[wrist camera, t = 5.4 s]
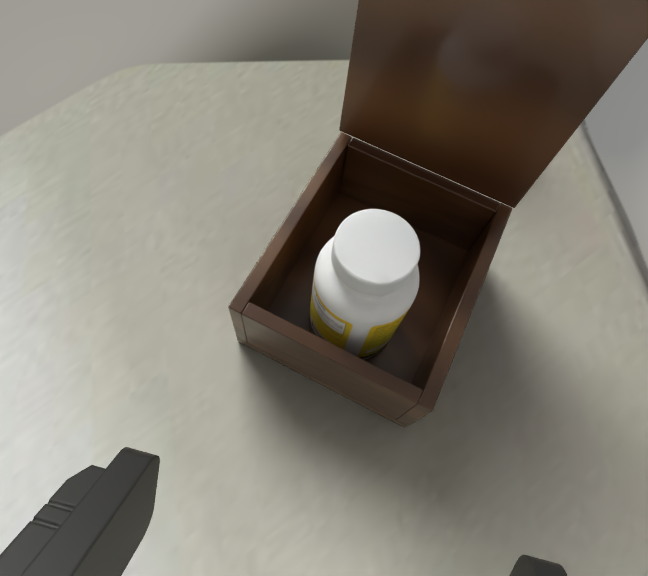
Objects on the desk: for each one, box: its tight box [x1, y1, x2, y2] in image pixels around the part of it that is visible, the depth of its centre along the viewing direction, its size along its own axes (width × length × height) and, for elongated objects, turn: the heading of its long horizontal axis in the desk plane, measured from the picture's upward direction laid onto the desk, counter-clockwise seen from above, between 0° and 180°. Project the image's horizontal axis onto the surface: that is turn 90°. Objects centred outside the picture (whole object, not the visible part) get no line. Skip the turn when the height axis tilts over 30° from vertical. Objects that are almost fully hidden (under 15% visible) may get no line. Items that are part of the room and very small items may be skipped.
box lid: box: [339, 0, 648, 208], centre depth 23 cm, size 14×12×5 cm
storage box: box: [229, 132, 512, 427], centre depth 30 cm, size 14×12×6 cm
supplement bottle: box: [310, 209, 420, 360], centre depth 26 cm, size 5×5×10 cm
